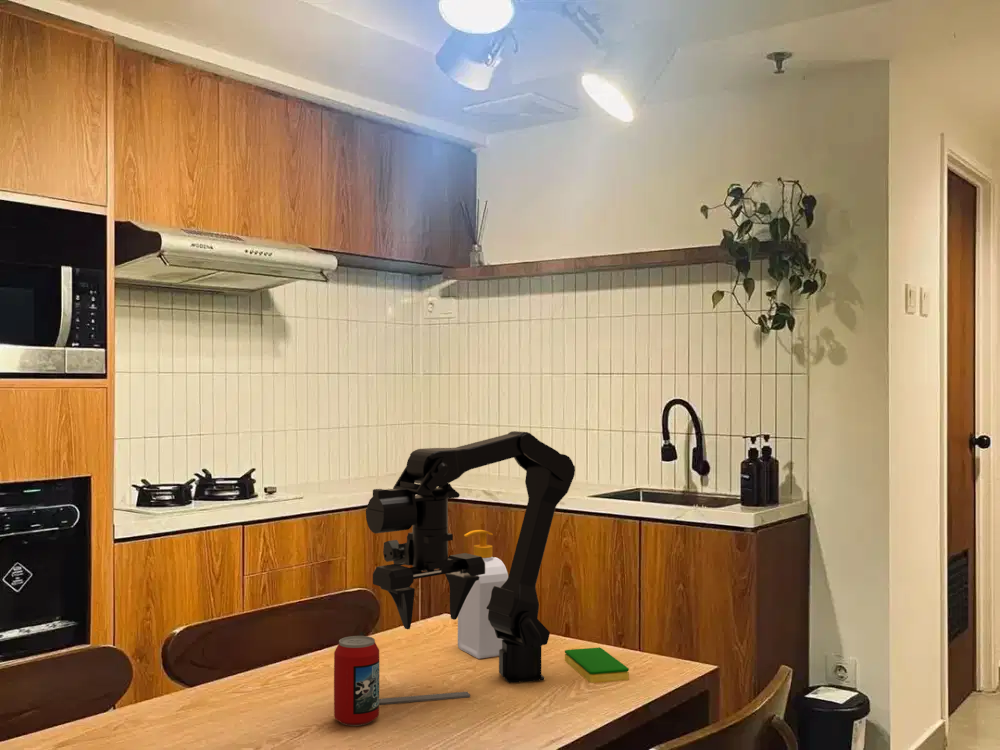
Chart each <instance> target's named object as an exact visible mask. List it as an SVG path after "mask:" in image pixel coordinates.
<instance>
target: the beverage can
mask: <svg viewBox="0 0 1000 750" xmlns="http://www.w3.org/2000/svg"><path fill="white" fill-rule="evenodd" d="M333 655H334V656H333V661H334V662H333V666H334V667H333V718H334V719H335V720H336V721H338V722H340V723H341V724H343V725H345V726H349V727H356V726H357V727H359V726H365V725H368V724H370V723H372V722H373V721H374V720H376V719H377V718H378V717H379V715H380V705H379V699H380V649H379V647H378V645H377V643H376V639H375V638H374V637H372V636H367V635H352V636H345V637H343V638H340V639H339V640H338V644H337V646H336V648H335V649H334V653H333Z"/></svg>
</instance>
